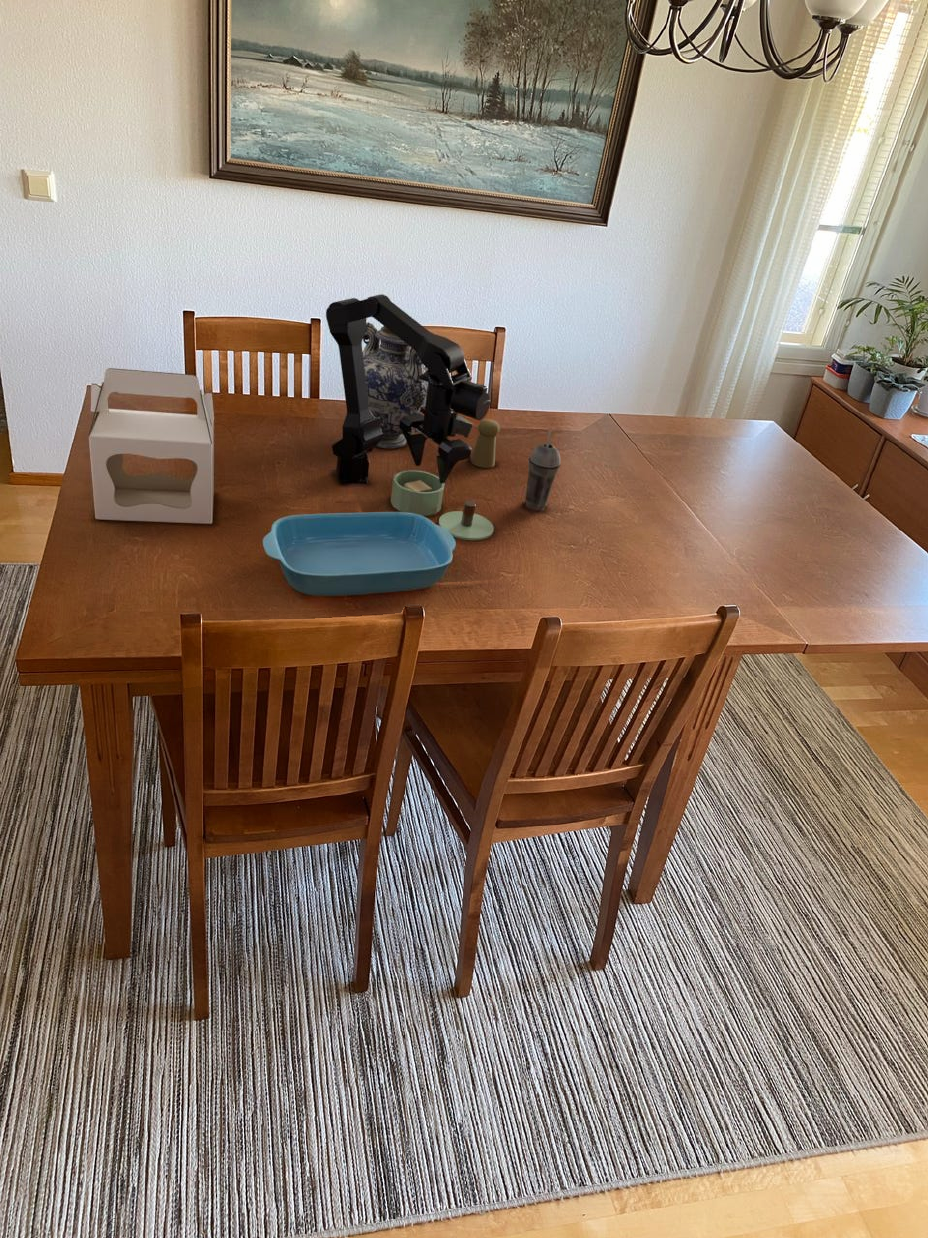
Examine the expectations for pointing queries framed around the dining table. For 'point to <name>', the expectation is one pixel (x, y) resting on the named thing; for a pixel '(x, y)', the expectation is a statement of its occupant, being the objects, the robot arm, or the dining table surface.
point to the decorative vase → (392, 382)
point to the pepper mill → (485, 444)
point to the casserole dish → (359, 552)
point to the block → (418, 486)
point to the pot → (417, 493)
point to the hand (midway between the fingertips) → (429, 474)
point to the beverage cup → (541, 474)
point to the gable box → (151, 450)
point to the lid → (466, 523)
